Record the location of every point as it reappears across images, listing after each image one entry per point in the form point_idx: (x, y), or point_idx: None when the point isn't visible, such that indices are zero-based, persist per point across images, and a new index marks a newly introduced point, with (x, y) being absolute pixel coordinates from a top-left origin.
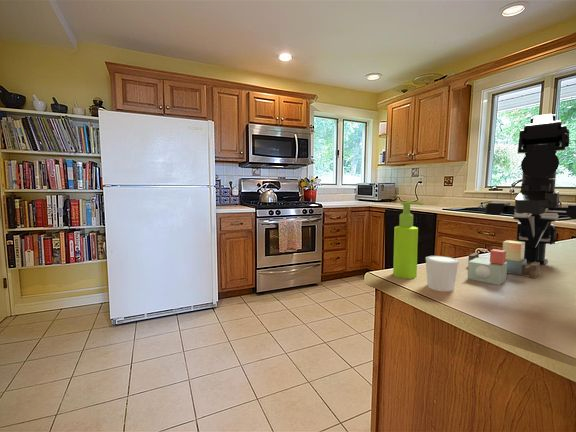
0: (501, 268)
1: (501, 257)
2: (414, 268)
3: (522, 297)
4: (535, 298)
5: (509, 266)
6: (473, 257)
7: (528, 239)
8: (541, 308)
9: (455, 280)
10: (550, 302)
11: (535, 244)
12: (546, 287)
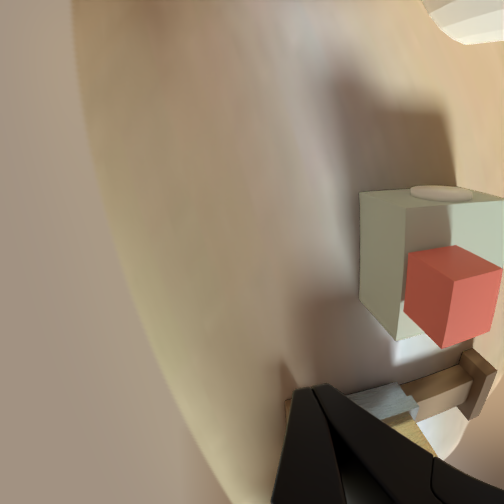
0: (396, 233)
1: (436, 265)
2: None
3: (237, 86)
4: (198, 117)
5: (375, 405)
6: (482, 375)
7: (375, 418)
8: (151, 18)
9: (445, 3)
10: (145, 116)
11: (298, 406)
12: (220, 323)
